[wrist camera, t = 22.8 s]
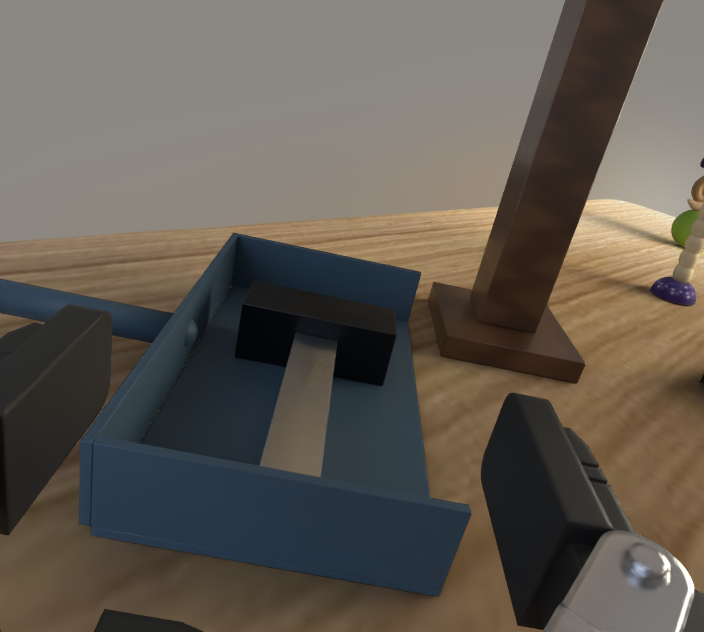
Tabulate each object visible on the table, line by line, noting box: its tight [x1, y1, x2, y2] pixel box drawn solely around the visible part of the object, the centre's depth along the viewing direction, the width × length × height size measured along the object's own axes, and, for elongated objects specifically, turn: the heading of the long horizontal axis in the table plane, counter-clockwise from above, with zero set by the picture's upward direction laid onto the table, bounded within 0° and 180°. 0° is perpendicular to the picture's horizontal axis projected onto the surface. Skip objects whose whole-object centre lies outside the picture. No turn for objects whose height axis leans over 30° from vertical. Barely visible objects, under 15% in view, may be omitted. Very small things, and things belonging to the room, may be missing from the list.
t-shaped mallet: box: [235, 281, 397, 477], centre depth 27 cm, size 14×8×3 cm, turn 178°
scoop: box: [0, 233, 471, 597], centre depth 29 cm, size 22×22×4 cm
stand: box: [428, 0, 664, 383], centre depth 34 cm, size 10×11×34 cm
